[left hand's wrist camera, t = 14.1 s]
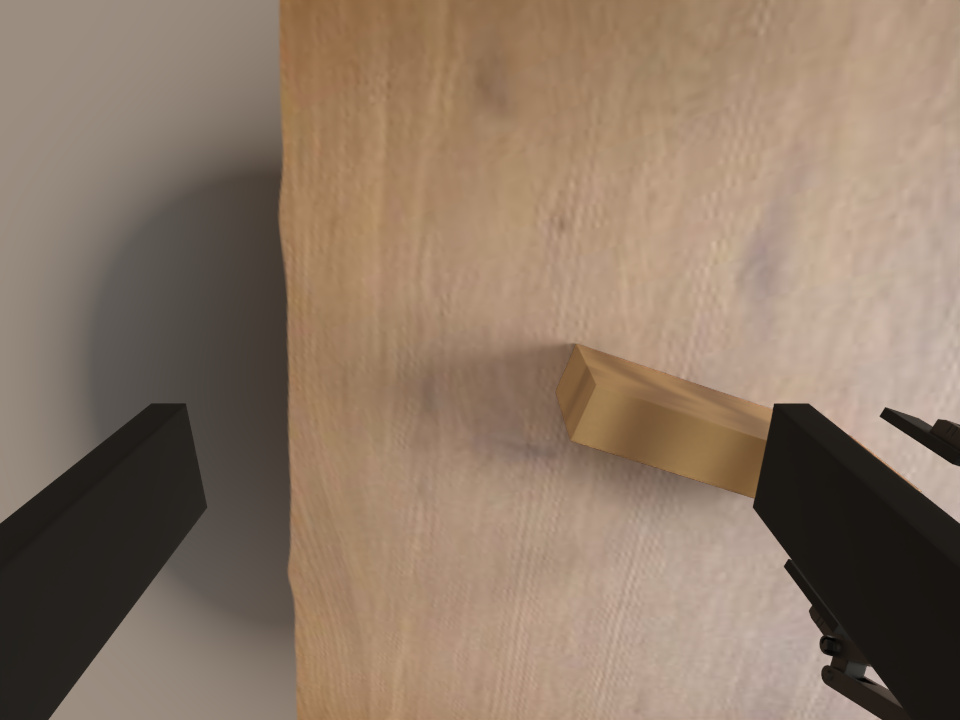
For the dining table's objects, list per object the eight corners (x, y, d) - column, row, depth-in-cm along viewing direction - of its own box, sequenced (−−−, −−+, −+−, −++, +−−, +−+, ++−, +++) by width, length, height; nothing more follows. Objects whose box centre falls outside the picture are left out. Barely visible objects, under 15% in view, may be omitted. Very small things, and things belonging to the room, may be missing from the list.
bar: (555, 391, 46) (570, 440, 39) (576, 343, 45) (596, 384, 37) (823, 478, 49) (886, 540, 42) (851, 435, 48) (922, 491, 40)
